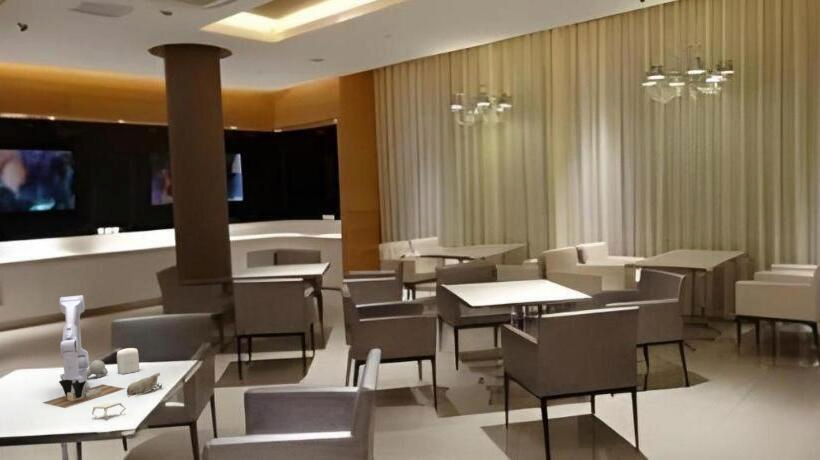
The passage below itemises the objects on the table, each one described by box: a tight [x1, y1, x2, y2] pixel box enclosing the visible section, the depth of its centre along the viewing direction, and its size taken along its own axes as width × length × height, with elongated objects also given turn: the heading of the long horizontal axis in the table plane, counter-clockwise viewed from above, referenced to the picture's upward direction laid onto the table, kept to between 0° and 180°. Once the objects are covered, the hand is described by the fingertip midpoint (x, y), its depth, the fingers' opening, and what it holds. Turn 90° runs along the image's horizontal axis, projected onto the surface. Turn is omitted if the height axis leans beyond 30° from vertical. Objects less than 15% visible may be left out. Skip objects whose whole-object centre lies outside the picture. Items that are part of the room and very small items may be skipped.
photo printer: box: [116, 347, 140, 375], centre depth 343 cm, size 10×4×12 cm, turn 123°
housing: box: [72, 385, 101, 399], centre depth 304 cm, size 10×7×3 cm
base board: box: [42, 384, 126, 409], centre depth 303 cm, size 17×29×1 cm, turn 148°
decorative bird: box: [126, 372, 163, 398], centre depth 307 cm, size 5×16×8 cm, turn 139°
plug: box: [67, 389, 86, 401], centre depth 300 cm, size 8×4×3 cm, turn 154°
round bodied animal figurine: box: [87, 359, 109, 380], centre depth 336 cm, size 7×12×8 cm, turn 116°
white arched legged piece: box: [91, 402, 127, 420], centre depth 276 cm, size 12×8×5 cm
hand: (73, 396), depth 299 cm, fingers open, 7 cm apart
